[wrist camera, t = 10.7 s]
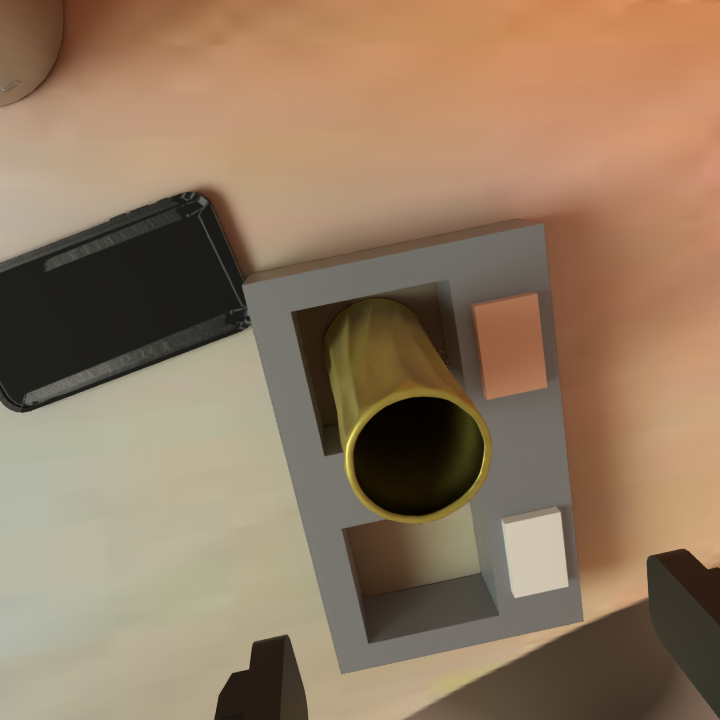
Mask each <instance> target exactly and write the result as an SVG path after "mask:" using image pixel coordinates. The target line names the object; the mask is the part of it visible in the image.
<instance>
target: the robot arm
mask: <svg viewBox="0 0 720 720" xmlns="http://www.w3.org/2000/svg"><path fill="white" fill-rule="evenodd" d="M63 23H64V14H63V6H62V0H0V107H1V106H4V105H7V104H11V103H14V102H16V101H18V100H20V99H21V98H23V97H24V96H26V95H28V94H29V93H31V92H32V91H34V89H35V88H36V87H37V86H38V85H39V84H40V83H41V82H42V81H43V80H44V79H45V78H46V77H47V75H48V73H49V71H50V70H51V68H52V66H53V64H54V63H55V61H56V59H57V55H58V52H59V49H60V45H61V42H62V35H63ZM647 578H648V595H649V610H650V617H651V621H652V624H653V627H654V629H655V631H656V634H657V636H658V638H659V640H660V641H661V643H662V644H663V646H664V647H665V648H666V650H667V651H668V652H669V653H670V655H671V656H672V657H673V658H674V660H675V661H676V663H677V664H678V665H679V666H680V668H681V669H682V670H683V672H684V673H685V674H686V676H687V677H688V678H689V680H690V681H691V682H692V683H693V685H694V686H695V687H696V689H697V690H698V691H699V692H700V694H701V695H702V697H703V698H704V699H705V700H706V702H707V703H708V704H709V706H710V707H711V708H712V709H713V711H714V712H715V714H716V715H717V716H718V717H719V719H720V568H718V567H717V568H712V569H707V568H706V567H705V566H703V565H702V564H701V563H700V562H699V561H698V560H697V559H696V558H695V557H694V556H693V555H692V554H691V553H690V552H689V551H687V550H686V549H678V550H674V551H669V552H665V553H660V554H656V555H651V556H649V557H648V559H647ZM214 720H308V710H307V701H306V695H305V690H304V686H303V683H302V679H301V676H300V672H299V669H298V665H297V662H296V658H295V655H294V651H293V648H292V644H291V641H290V638H289V636H288V635H282V636H278V637H273V638H269V639H264V640H260V641H255V642H254V643H253V645H252V651H251V659H250V667H249V670H245V671H240V672H235V673H232V674H231V676H230V678H229V679H228V681H227V683H226V684H225V686H224V688H223V689H222V691H221V693H220V694H219V697H218V702H217V708H216V713H215V719H214Z"/></svg>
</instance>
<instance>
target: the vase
mask: <svg viewBox="0 0 720 720" xmlns="http://www.w3.org/2000/svg"><path fill="white" fill-rule="evenodd" d="M323 358H324V364H325V367H326V370H327V372H328V374H329V378H330V383H331V387H332V391H333V395H334V399H335V404H336V408H337V415H338V423H339V432H340V440H341V445H342V449H343V452H344V470H345V473H346V476H347V479H348V481H349V483H350V485H351V487H352V489H353V491H354V493H355V494H356V496H357V497H358V499H359V500H360V501H361V502H362V503H363V504H364V505H365V506H366V507H367V508H368V509H369V510H371V511H372V512H374V513H375V514H377V515H379V516H381V517H383V518H385V519H388V520H392V521H397V522H403V523H411V524H421V523H427V522H431V521H435V520H438V519H441V518H443V517H445V516H447V515H449V514H450V513H452V512H454V511H456V510H457V509H459V508H461V507H462V506H464V505H465V504H466V503H467V502H469V501H470V500H471V499H472V498H473V496H474V495H475V494H476V493H477V492H478V491H479V489H480V488H481V487H482V485H483V484H484V482H485V480H486V478H487V476H488V472H489V468H490V463H491V458H492V447H493V444H492V439H491V435H490V432H489V429H488V426H487V424H486V422H485V420H484V419H483V417H482V415H481V414H480V412H479V411H478V409H477V408H476V406H475V405H474V403H473V401H472V400H471V399H470V398H469V397H468V395H467V394H466V393H465V391H464V390H463V388H462V387H461V385H460V384H459V383H458V382H457V380H456V379H455V377H454V376H453V375H452V373H451V372H450V371H449V369H448V368H447V366H446V365H445V363H444V362H443V360H442V359H441V357H440V356H439V354H438V353H437V351H436V349H435V348H434V346H433V345H432V343H431V341H430V340H429V338H428V336H427V333H426V331H425V329H424V327H423V325H422V323H421V322H420V320H419V318H418V316H417V315H416V314H415V313H414V312H412V311H411V310H410V309H408V308H407V307H406V306H404V305H402V304H401V303H398V302H396V301H392V300H388V299H381V298H372V299H367V300H363V301H360V302H358V303H355V304H353V305H351V306H350V307H348V308H346V309H345V310H343V311H342V312H341V313H340V314H339V315H338V316H337V317H336V318H335V319H334V321H333V322H332V324H331V325H330V327H329V328H328V330H327V333H326V335H325V339H324V344H323Z"/></svg>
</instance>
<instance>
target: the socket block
mask: <svg viewBox="0 0 720 720" xmlns="http://www.w3.org/2000/svg"><path fill="white" fill-rule="evenodd" d="M432 282H436V289H437V295H438V301H439V308H440V314H441V320H442V327H443V333H444V339H445V346H446V352H447V358H448V365H449V371H450V372H451V373H452V375H453V376H454V377H455V379H456V380H457V382H458V383H459V384H460V385H461V387H462V388H463V390H464V391H465V393H466V394H467V395H468V397H469V398H470V399H471V400H472V401H473V403H474V405H475V406H476V408H477V409H478V411H479V412H480V414H481V415H482V417H483V419H484V420H485V422H486V424H487V426H488V429H489V432H490V435H491V439H492V444H493V447H492V458H491V463H490V468H489V472H488V476H487V478H486V480H485V482H484V484H483V485H482V487H481V488H480V489H479V491H478V492H477V493H476V494H475V495H474V496H473V498H472V499H471V500H470V505H471V511H472V517H473V524H474V530H475V536H476V543H477V549H478V556H479V562H480V568H481V573H480V574H476V575H471V576H466V577H462V578H457V579H453V580H448V581H443V582H439V583H434V584H430V585H425V586H420V587H416V588H411V589H406V590H402V591H397V592H393V593H388V594H383V595H379V596H374V597H370V598H365V599H363V597H362V593H361V589H360V584H359V580H358V576H357V571H356V567H355V563H354V558H353V554H352V550H351V545H350V541H349V537H348V532H347V528H348V527H352V526H357V525H362V524H366V523H371V522H376V521H380V520H385V518H383V517H381V516H379V515H377V514H375V513H374V512H372V511H371V510H369V509H368V508H367V507H366V506H365V505H364V504H363V503H362V502H361V501H360V500H359V499H358V497H357V496H356V494H355V493H354V491H353V489H352V487H351V485H350V483H349V481H348V479H347V476H346V473H345V470H344V452H343V449H342V445H341V440H340V432H339V424H336V425H331V426H327V427H323V424H322V420H321V416H320V411H319V407H318V403H317V398H316V394H315V390H314V385H313V381H312V377H311V372H310V368H309V364H308V359H307V355H306V351H305V346H304V342H303V338H302V333H301V329H300V325H299V320H298V316H297V312H296V311H297V310H302V309H307V308H311V307H316V306H321V305H326V304H331V303H336V302H340V301H345V300H350V299H355V298H360V297H365V296H369V295H374V294H379V293H384V292H389V291H393V290H398V289H403V288H408V287H413V286H418V285H422V284H427V283H432ZM242 288H243V292H244V296H245V300H246V304H247V308H248V312H249V315H250V319H251V323H252V327H253V331H254V335H255V339H256V343H257V347H258V351H259V355H260V359H261V362H262V366H263V370H264V374H265V378H266V382H267V386H268V390H269V394H270V398H271V402H272V405H273V409H274V413H275V417H276V421H277V425H278V429H279V433H280V437H281V441H282V445H283V448H284V452H285V456H286V460H287V464H288V468H289V472H290V476H291V480H292V484H293V488H294V492H295V495H296V499H297V503H298V507H299V511H300V515H301V519H302V523H303V527H304V531H305V535H306V538H307V542H308V546H309V550H310V554H311V558H312V562H313V566H314V570H315V574H316V578H317V581H318V585H319V589H320V593H321V597H322V601H323V605H324V609H325V613H326V617H327V621H328V625H329V628H330V632H331V636H332V640H333V644H334V648H335V652H336V656H337V660H338V664H339V668H340V671H341V674H346V673H350V672H355V671H359V670H364V669H368V668H373V667H377V666H382V665H387V664H391V663H396V662H400V661H405V660H409V659H414V658H418V657H423V656H428V655H432V654H437V653H441V652H446V651H450V650H455V649H459V648H464V647H469V646H473V645H478V644H482V643H487V642H491V641H496V640H500V639H505V638H510V637H514V636H519V635H523V634H528V633H532V632H537V631H541V630H546V629H551V628H555V627H560V626H564V625H569V624H573V623H578V622H583V621H584V620H583V610H582V600H581V590H580V580H579V570H578V560H577V550H576V540H575V530H574V520H573V510H572V500H571V490H570V479H569V469H568V459H567V449H566V439H565V429H564V419H563V409H562V399H561V389H560V379H559V369H558V359H557V349H556V339H555V329H554V319H553V309H552V299H551V289H550V279H549V268H548V258H547V248H546V238H545V228H544V223H540V222H533V221H527V220H520V219H514V220H509V221H505V222H500V223H495V224H490V225H485V226H480V227H475V228H471V229H466V230H461V231H456V232H451V233H446V234H441V235H437V236H432V237H427V238H422V239H417V240H412V241H407V242H403V243H398V244H393V245H388V246H383V247H378V248H373V249H369V250H364V251H359V252H354V253H349V254H344V255H339V256H335V257H330V258H325V259H320V260H315V261H310V262H305V263H301V264H296V265H291V266H286V267H281V268H276V269H271V270H267V271H262V272H257V273H252V274H250V275H249V276H248V278H247V279H246V280H245V282H244V283H243V284H242Z"/></svg>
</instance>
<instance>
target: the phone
mask: <svg viewBox="0 0 720 720" xmlns="http://www.w3.org/2000/svg"><path fill="white" fill-rule="evenodd" d="M109 220H110V221H108V222H106V223H103V224H101V225H98V226H95V227H93V228H90V229H88V230H85V231H82V232H80V233H77V234H75V235H72V236H70V237H67V238H64V239H62V240H59V241H57V242H54V243H51V244H49V245H46V246H44V247H41V248H39V249H36V250H33V251H31V252H28V253H26V254H23V255H20V256H18V257H15V258H13V259H10V260H7V261H5V262H2V263H0V401H1V402H2V403H3V405H4V406H6V407H7V408H8V409H10V410H12V411H15V412H22V413H24V412H29V411H32V410H35V409H37V408H40V407H43V406H45V405H48V404H50V403H53V402H56V401H58V400H61V399H64V398H66V397H69V396H72V395H74V394H77V393H80V392H82V391H85V390H87V389H90V388H93V387H95V386H98V385H101V384H103V383H106V382H109V381H111V380H114V379H117V378H119V377H122V376H124V375H127V374H130V373H132V372H135V371H138V370H140V369H143V368H146V367H148V366H151V365H154V364H156V363H159V362H161V361H164V360H167V359H169V358H172V357H175V356H177V355H180V354H183V353H185V352H188V351H191V350H193V349H196V348H198V347H201V346H204V345H206V344H209V343H212V342H214V341H217V340H220V339H222V338H225V337H228V336H230V335H233V334H235V333H238V332H241V331H243V330H245V329H246V328H248V327H249V326H250V324H251V319H250V315H249V312H248V308H247V304H246V300H245V296H244V292H243V288H242V284H243V283H244V282H245V279H244V276H243V274H242V272H241V269H240V267H239V265H238V262H237V260H236V258H235V255H234V253H233V251H232V248H231V246H230V244H229V241H228V239H227V237H226V234H225V232H224V230H223V227H222V225H221V223H220V220H219V218H218V216H217V213H216V211H215V209H214V206H213V205H212V203H211V202H210V200H209V199H207V198H206V197H205V196H204V195H201V194H199V193H195V192H186V193H181V194H178V195H176V196H173V197H170V198H165V199H162V200H160V201H157V203H155V204H152V205H150V206H148V205H146V206H143V207H141V208H138V209H135V210H133V211H130V213H129V214H125V213H124V214H121V215H119V216H116V217H114V218H111V219H109Z"/></svg>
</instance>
